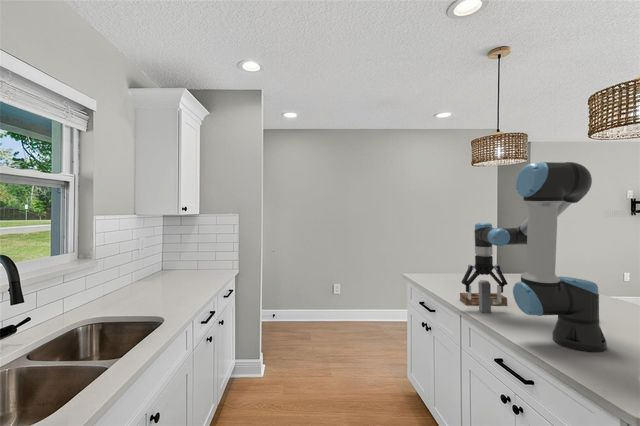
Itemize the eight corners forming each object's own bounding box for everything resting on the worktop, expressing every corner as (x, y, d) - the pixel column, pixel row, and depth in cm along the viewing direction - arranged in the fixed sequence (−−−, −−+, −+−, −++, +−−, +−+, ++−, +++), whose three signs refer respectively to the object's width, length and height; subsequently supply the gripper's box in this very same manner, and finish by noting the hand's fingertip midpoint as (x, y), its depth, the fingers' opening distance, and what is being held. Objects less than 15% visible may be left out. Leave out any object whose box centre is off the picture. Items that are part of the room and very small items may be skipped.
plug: (491, 313, 152) (490, 281, 152) (482, 313, 153) (481, 281, 153) (487, 310, 156) (486, 280, 156) (479, 310, 157) (478, 280, 157)
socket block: (498, 300, 174) (498, 293, 174) (507, 305, 164) (507, 298, 164) (460, 300, 176) (459, 292, 176) (466, 305, 166) (466, 297, 166)
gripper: (507, 253, 157) (508, 297, 157) (454, 254, 160) (455, 296, 160) (515, 256, 150) (515, 301, 150) (459, 256, 152) (459, 301, 153)
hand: (484, 299), depth 155 cm, fingers open, 13 cm apart
